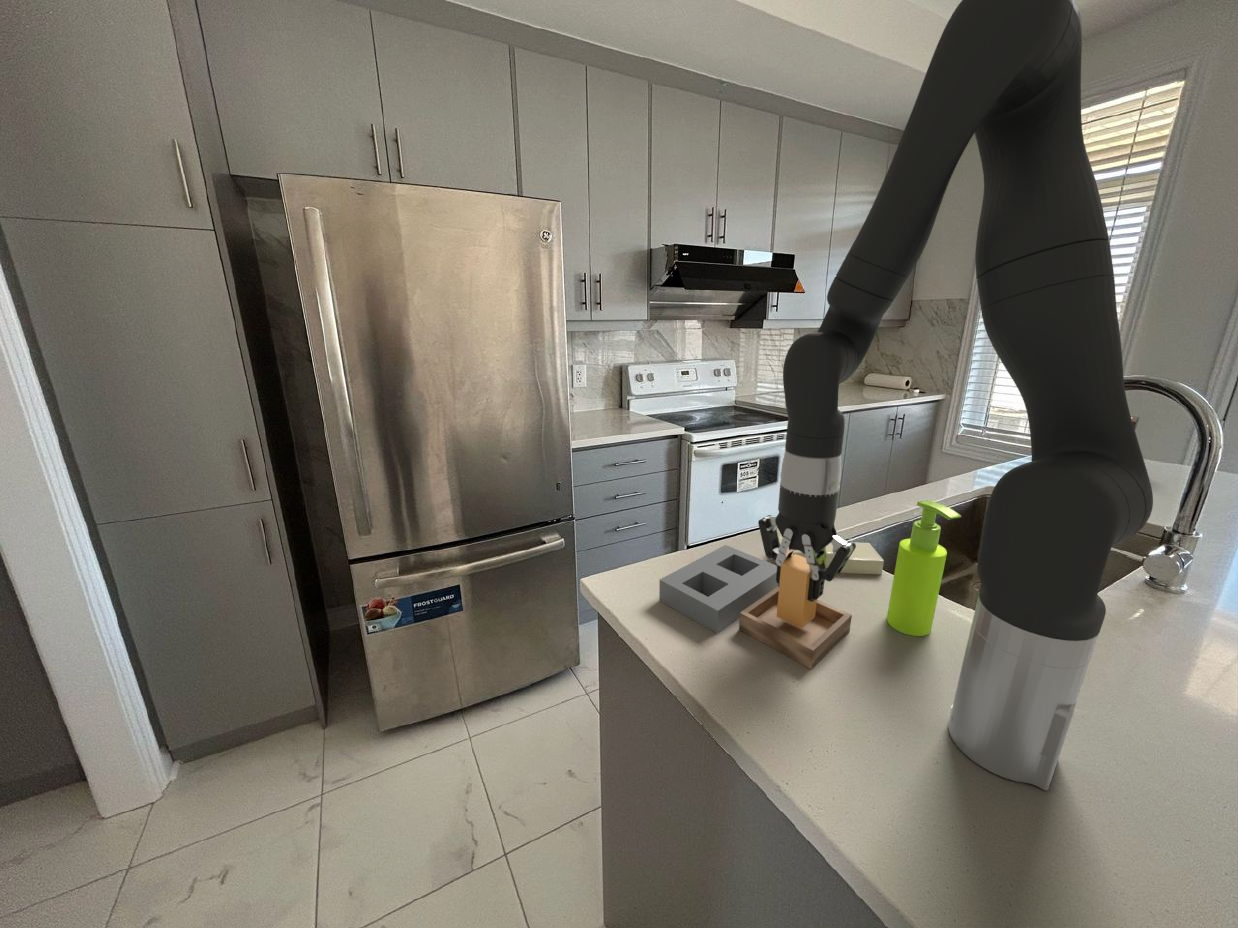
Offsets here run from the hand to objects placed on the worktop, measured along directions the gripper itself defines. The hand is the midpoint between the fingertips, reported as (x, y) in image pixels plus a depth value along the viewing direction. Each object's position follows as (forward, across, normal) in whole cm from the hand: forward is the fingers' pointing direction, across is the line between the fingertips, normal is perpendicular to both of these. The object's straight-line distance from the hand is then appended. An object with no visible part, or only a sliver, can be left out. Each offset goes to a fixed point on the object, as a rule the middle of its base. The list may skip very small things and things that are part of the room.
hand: (797, 592), depth 70 cm
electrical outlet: (+7, +7, -23) cm, 25 cm away
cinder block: (+7, +14, 0) cm, 15 cm away
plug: (+4, 0, 0) cm, 4 cm away
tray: (+7, 0, 0) cm, 7 cm away
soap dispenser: (+7, -12, -14) cm, 19 cm away
